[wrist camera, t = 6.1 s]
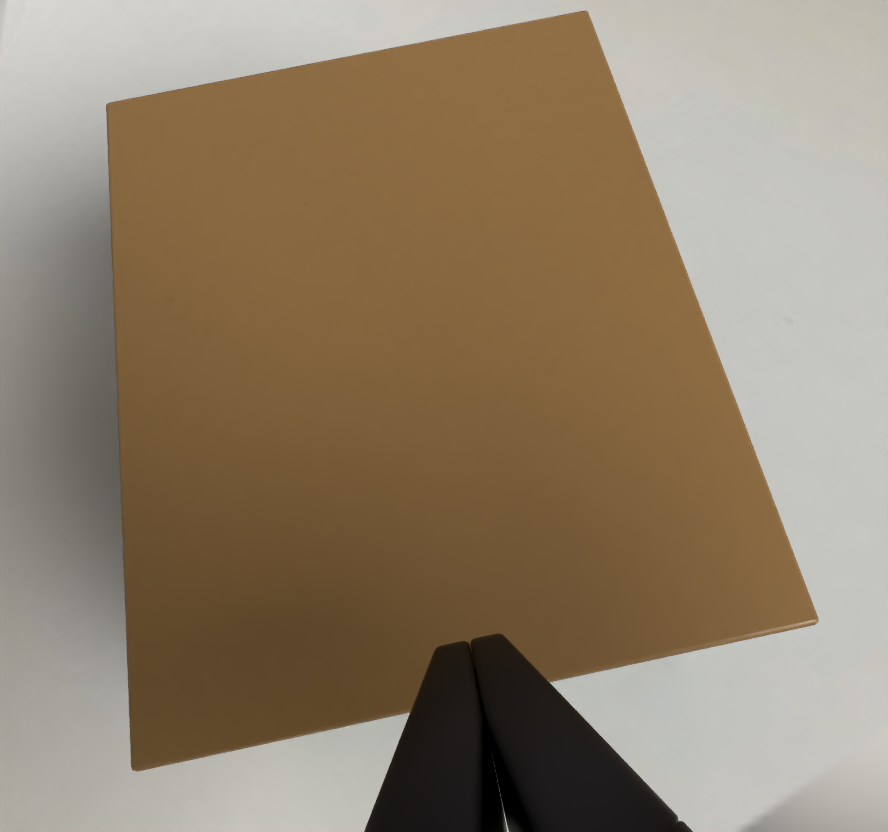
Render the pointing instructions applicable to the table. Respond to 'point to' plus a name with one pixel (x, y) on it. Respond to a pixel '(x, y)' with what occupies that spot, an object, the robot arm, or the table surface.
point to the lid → (413, 392)
